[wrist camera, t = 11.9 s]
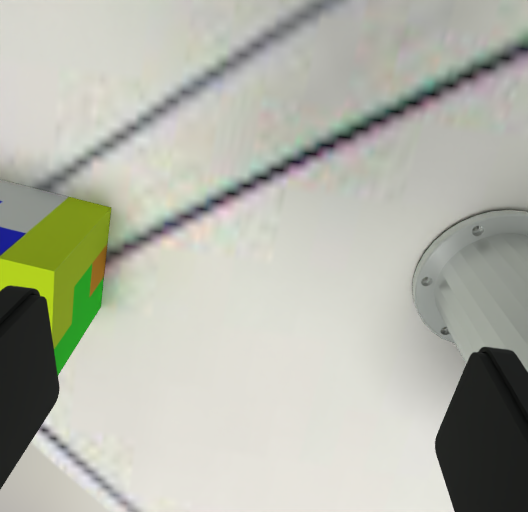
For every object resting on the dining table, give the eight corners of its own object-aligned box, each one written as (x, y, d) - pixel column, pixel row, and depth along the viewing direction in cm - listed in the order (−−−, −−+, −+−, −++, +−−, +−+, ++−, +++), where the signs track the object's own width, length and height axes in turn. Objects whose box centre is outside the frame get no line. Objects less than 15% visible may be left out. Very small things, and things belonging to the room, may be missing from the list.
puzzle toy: (-18, 174, 35) (-120, 229, 26) (111, 207, 35) (54, 271, 27) (-13, 280, 39) (-98, 356, 31) (100, 306, 40) (49, 388, 31)
